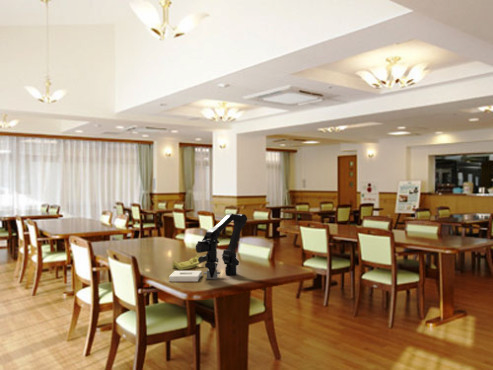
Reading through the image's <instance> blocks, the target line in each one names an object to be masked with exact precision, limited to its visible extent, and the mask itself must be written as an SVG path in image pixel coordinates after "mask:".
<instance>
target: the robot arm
mask: <svg viewBox="0 0 493 370" xmlns="http://www.w3.org/2000/svg"><path fill="white" fill-rule="evenodd" d="M247 221H248V217H247V215H246V214H244V213H236V214H235V213H227V214H226V216H224V218H222V219H221V220H220V222H218V224H216V225H215V226H213V227H211V228H209V229H207V230H206V232H205V234H204V237H203V238H202V239H201V241H200V240H198V241H197V243H196V245H195V251H196V253H198V254H199V253H200V254H201V253H205V255H201V256H200V257H199V258H198V262H199V264H198V265H200V264H202V263H205V264H204V268H206V269H207V270H208V269H209V272H210V276H211V278H212V277H213V275H214V272H215V269H217V267H218V264H219V262H220V261H219V258H218V257H217V256H218V251H217V246H218V245H217V244H220V241H219V240H218V239H219V237H220V235H221V233H222V232H223V230H225V228H226V227H227V226H228V225H229V224H230V223H232V222H233V226H234V227H233V229H232V233H231V235H230V236H231V237H230V239H229V243H228V247H227V248H226V249H223V252H222V254H221V256H222V257H221V258H222V261H223V264H224V265H225V269H224V270H225V275H226V276H237V275H238V272H237V266H239V264H240V261H239V260H238V258H237V246H238V242H239V238H240V236H241V232H242V229H243V228H244V226H245V225H246V223H247Z"/></svg>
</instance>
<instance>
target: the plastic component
mask: <svg viewBox="0 0 493 370" xmlns="http://www.w3.org/2000/svg"><path fill="white" fill-rule="evenodd" d="M199 257H201V256H200V255H199V254H197V255H196V256H195V257H191V258H190V259H189V260H187V261H182V262H179V263H178V262H177V261H176V260H173V263H172V265H171V267H172V269H177V270H178V271H187V270H189V269H193V268H196V267H197V266H199V265H200V264H199V262H198V258H199Z"/></svg>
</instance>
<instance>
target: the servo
mask: <svg viewBox="0 0 493 370" xmlns="http://www.w3.org/2000/svg"><path fill="white" fill-rule="evenodd" d="M202 275H206V280H217V279H218V275H221V271H218V269H217V268H216V269H215V272H214V275H213V277H212V278H211V276H210V272H209V269H208V268H207V270H206V271H204V272H203V273H202Z"/></svg>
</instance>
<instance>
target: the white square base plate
mask: <svg viewBox="0 0 493 370" xmlns="http://www.w3.org/2000/svg"><path fill="white" fill-rule="evenodd" d="M202 276H203V273H202V270H174V271H173V272H172V273H171V274H170V275H169V276H168V282H199V280H200V279H201V277H202Z"/></svg>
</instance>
